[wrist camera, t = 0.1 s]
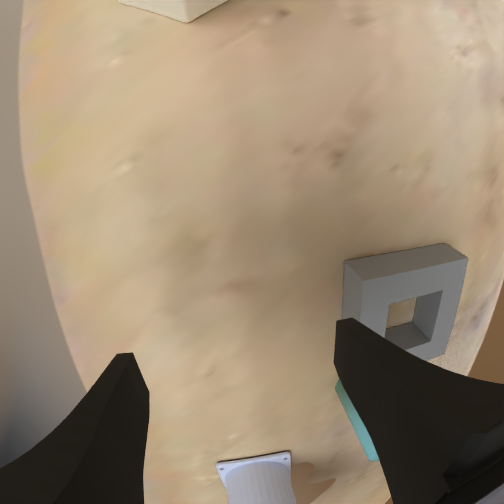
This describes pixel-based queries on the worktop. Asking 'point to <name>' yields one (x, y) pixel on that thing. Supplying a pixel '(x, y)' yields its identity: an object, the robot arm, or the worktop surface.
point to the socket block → (407, 295)
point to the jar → (176, 7)
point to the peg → (357, 423)
